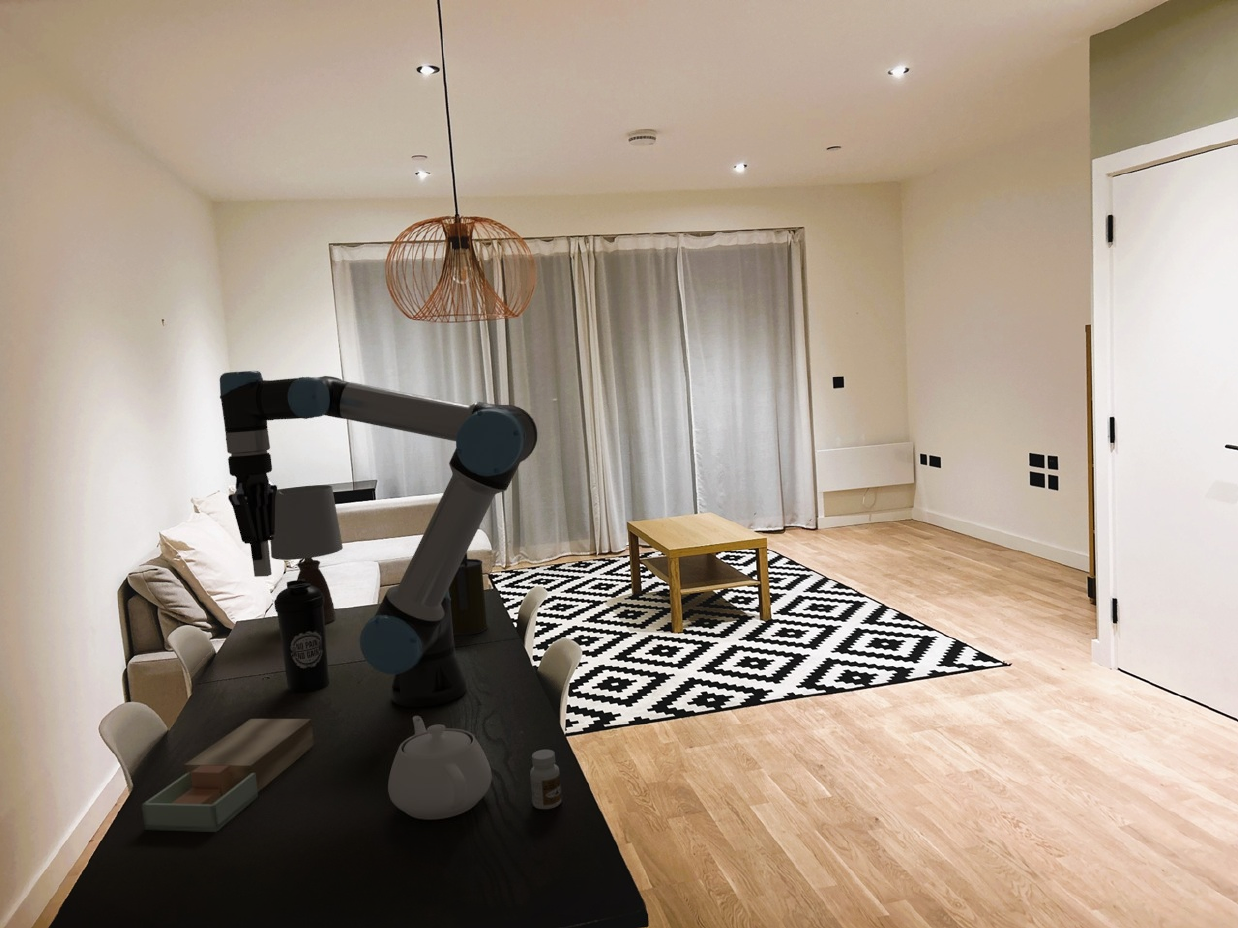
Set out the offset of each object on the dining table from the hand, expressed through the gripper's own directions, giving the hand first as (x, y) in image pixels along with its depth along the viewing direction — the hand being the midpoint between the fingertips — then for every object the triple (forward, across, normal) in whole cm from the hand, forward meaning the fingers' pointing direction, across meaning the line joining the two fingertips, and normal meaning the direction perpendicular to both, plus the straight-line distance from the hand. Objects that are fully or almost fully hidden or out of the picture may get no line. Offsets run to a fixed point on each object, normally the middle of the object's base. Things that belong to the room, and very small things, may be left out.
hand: (263, 575), depth 175 cm
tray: (+29, +35, +8) cm, 47 cm away
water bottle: (+30, -20, -5) cm, 36 cm away
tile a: (+26, +31, +8) cm, 41 cm away
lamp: (+30, -70, -31) cm, 82 cm away
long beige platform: (+29, +20, +7) cm, 36 cm away
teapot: (+30, +30, +45) cm, 62 cm away
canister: (+30, -60, +17) cm, 69 cm away
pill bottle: (+30, +30, +62) cm, 75 cm away
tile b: (+26, +37, +8) cm, 46 cm away
